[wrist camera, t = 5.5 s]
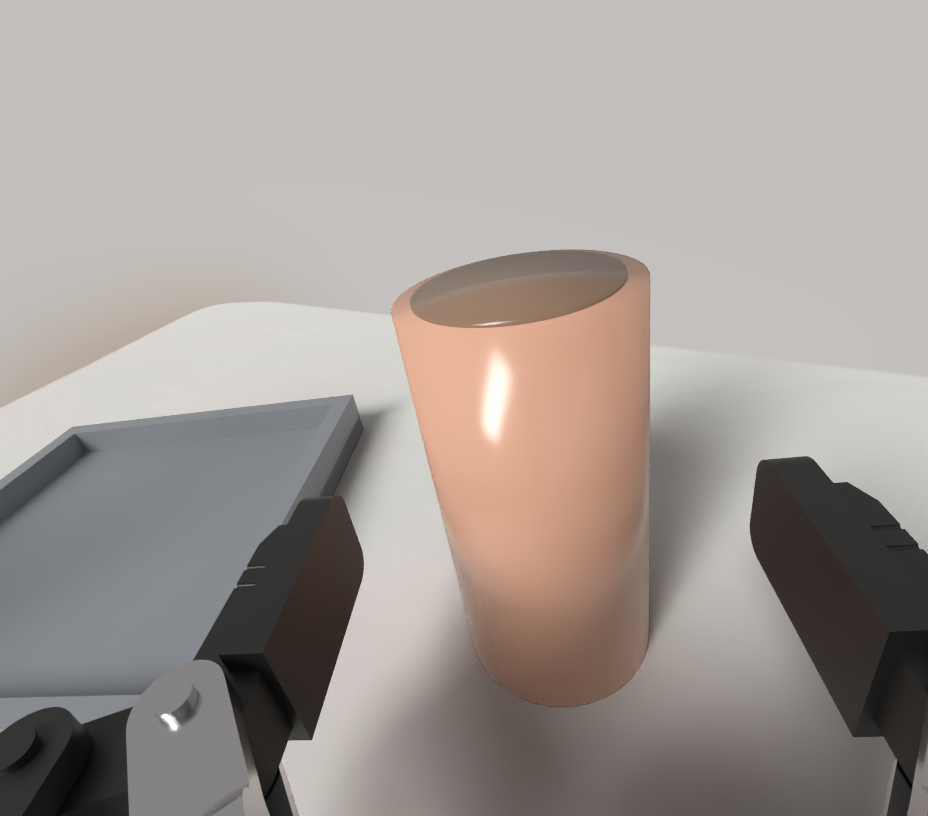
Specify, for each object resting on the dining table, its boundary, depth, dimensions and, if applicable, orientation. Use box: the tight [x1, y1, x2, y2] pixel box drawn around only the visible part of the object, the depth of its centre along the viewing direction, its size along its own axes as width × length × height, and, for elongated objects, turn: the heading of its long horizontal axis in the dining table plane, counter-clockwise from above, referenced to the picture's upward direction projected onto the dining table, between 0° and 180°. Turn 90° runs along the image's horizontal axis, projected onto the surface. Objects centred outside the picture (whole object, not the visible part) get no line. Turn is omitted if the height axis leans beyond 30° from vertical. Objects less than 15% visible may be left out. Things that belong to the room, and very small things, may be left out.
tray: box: [0, 395, 363, 733], centre depth 21 cm, size 16×16×2 cm
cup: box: [391, 250, 650, 707], centre depth 13 cm, size 5×5×10 cm
